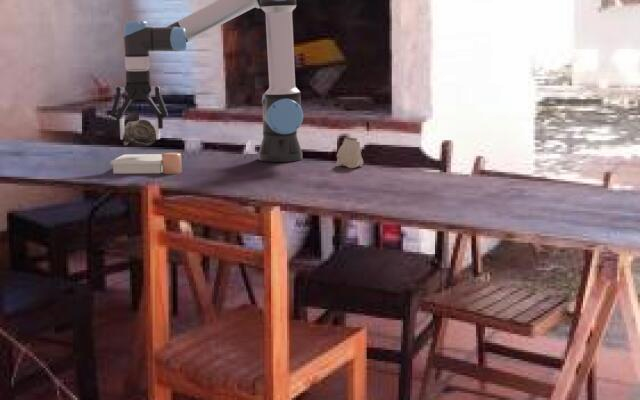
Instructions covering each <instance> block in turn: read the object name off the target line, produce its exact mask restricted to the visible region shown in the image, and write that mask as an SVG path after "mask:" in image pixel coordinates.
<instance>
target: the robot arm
mask: <svg viewBox="0 0 640 400" xmlns="http://www.w3.org/2000/svg"><path fill="white" fill-rule="evenodd" d="M296 7H297V0H215V1H214V2H212V3H210V4H208V5H206V6H204V7H202V8H200V9H199V10H196V11H195V12H192V13H191V14H188V15H187V16H184V17H183V18H181V19H179V20H177V21H175V22H173V23H171V24H170V25H168V26H161V27H159V26H158V27H157V26H156V27H152V26H149V24H148V21H146V20H137V21H136V20H129V21H125V22H124V24H123V42H124V45H123V47H124V61H125V62H124V65H125V70H127V71H125V86H117V87H116V88H115V89H116V94H115V98H114V101H113V106H112V107H111V108H112V109H111V111H110V118H111V117H112V118H115V119H116V128H117V130H119V135H120V140H124V128H125V118H124V117H123V116H124V114H125V113H126V111H127V109H128V107H129V106H130V104H131V102H132V101H136V100H139V101H140V100H141V101H142V100H145V101H146V103H147V105H148V106H149V107H150V108H151V110H152V111H153V113H154V114H155V116H156V117H157V118H155V120H154V122H155V130H156V140H160V139H161V129H164V121H163V120H164V118H166V117H168V116H169V112H168V109H167V106H166V104H165V102H164V99H163V96H162V94H161V86H152V85H151V76H150V75H151V73H150V70H149V69H150V54H149V53H150V52H182V51H185V50H187V43H188V42H190V41H192V40H194V39H196V38H197V37H200V36H202V35H205V34H206V33H207V32H209V31H211V30H213V29H215V28H218V27H219V26H221V25H223V24H225V23H227V22H229V21H231V20H232V19H233V20H234V19H235V18H236V17H239V16H241V15H243V14H245V13H246V12H248V11H250V10H252V9H254V8H256V9H261V10H262V11H263V12H264V13H265V14H264V15H265V31H266V50H267V51H266V52H267V69H268V70H267V71H268V89H267V90H266V91H265V92H264V93H263V94H262V99H261V104H262V135H263V136H262V141H261V144H260V147H259V151H258V160H259V161H260V162H261V161H262V162H270V163H284V162H285V163H286V162H296V161H300V160H302V159H303V150H302V148H301V145H300V142H299V139H298V131H297V130H298V129H299V128H301V125H302V123H303V120H304V111H303V109H302V102H301V101H302V100H301V97H302V96H301V91H300V90H299V89H298V87H297V86H296V73H295V72H296V70H295V67H296V66H295V49H294V25H293V24H294V23H293V11H294V10H295V9H296ZM125 92H126V93H127V94H128V95H127V97H126V99H125V101H124V102H123V104H122V106H121V108H120V109H119V107H120V103H121V100H122V96H123V94H124V93H125ZM151 92H152V93H153V94H154V95H155V97H156V100H157V103H158V106H159V108H160V109H159V108H158V106H157V105H156V103H155V102H154V100H153V98H152V97H151V96H150V93H151ZM118 109H119V111H118ZM160 110H161V111H160Z"/></svg>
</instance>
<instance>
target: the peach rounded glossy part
mask: <svg viewBox="0 0 640 400" xmlns="http://www.w3.org/2000/svg"><path fill="white" fill-rule="evenodd" d="M161 154H162V169H163V172H162V174H165V175H175V174H176V175H177V174H181V173H183V171H182V169H183V168H182V166H183V165H182V153H181V152H164V153H161Z"/></svg>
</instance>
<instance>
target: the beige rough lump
mask: <svg viewBox="0 0 640 400" xmlns="http://www.w3.org/2000/svg"><path fill="white" fill-rule="evenodd" d="M336 159H337V160H336V165H338V166H339V167H344V166H345V167H347V168H349V169H354V168H356V169H357V167H359V168H360V167H362V166H363V164H364V159H363V157H362V152H361V141H360V140H359V138H356V137H345V138H344V140H343V141H342V144H341V145H340V147H339V149H338V151H337V154H336Z"/></svg>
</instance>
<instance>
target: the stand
mask: <svg viewBox="0 0 640 400" xmlns="http://www.w3.org/2000/svg"><path fill="white" fill-rule="evenodd" d="M162 154H163V153H156V154H155V153H152V154H151V153H150V154H149V153H138V154H137V153H136V154H134V153H133V154H132V153H131V154H130V153H129V154H128V153H127V154H125V153H124V154H122V155H120V156H118V157H116V158H114V159H112V160H110V165H112V173H113V174H161V173H163V169H162ZM113 174H112V175H113Z"/></svg>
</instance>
